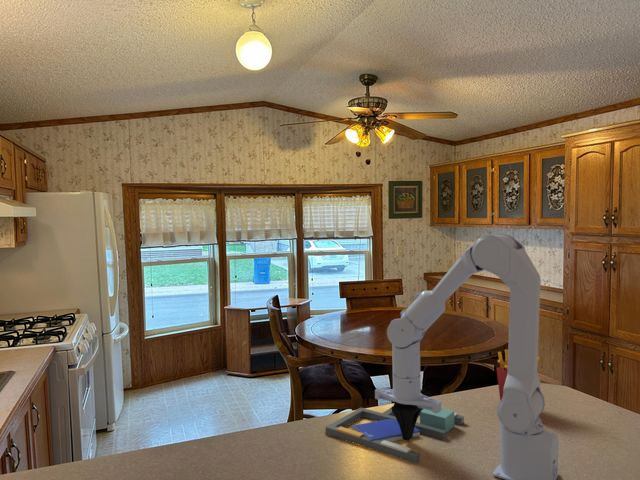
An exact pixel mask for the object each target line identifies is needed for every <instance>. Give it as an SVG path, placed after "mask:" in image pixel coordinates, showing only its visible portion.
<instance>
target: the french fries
mask: <svg viewBox="0 0 640 480" xmlns="http://www.w3.org/2000/svg"><path fill="white" fill-rule="evenodd" d="M504 353H505V355H504V357H505V361H504V359H503V354H502V351H497V356H498V359H497V363H498V364H499V366H498V367H496V376H497V384H498V393H499V402H500V401H501V400H502V397H503V389H504V385H505V381H506V378H507V372H508V348H505V349H504ZM541 361H542V358H541V357H540V356H538V366H539V365H540V364H541Z"/></svg>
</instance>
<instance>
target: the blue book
mask: <svg viewBox="0 0 640 480" xmlns="http://www.w3.org/2000/svg"><path fill="white" fill-rule="evenodd" d="M350 429H351V430H354V431H357V432H360V433H364V435H363V436H365V437H366V438H367V439H368V440H370V441H374V440H380V441H384V440H386V441H389V442H397V441H401V440H403V437H402V433H401V430H400V426H399V424H398V421H396V420H393V419H387V420H381V421H375V420H374V421H371V422H365V423H364V422H363V423H359V424H353V425H352V424H351V427H350ZM416 437H420V431H419V429H417V428H416V427H414V432H413V437H412V438H416Z"/></svg>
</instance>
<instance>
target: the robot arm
mask: <svg viewBox="0 0 640 480" xmlns="http://www.w3.org/2000/svg"><path fill="white" fill-rule="evenodd" d="M526 251H527V250H526V247H525V246H524V245H523V244H522V243H521V242H520V241H519V240H517V239H516V238H514V237H513V236H512V235H509V234H507V233H506V234H505V233H498V234H495V235H493V234H487V235H482V236H481V237H479V238H477V240H476V241H475V242H474V243H473V245H471V246H469V247H468V248H467V249H466V250H465V251H464V252H462V254H461V255H460V256H459V258H458V259H457V260H456V261H455V262H454V264H453V265H451V267H450V269H448V271H447V272H446V273H445V274H444V276H442V278H441V279H440V280H439V281H438V283H437V284H436V286H435V287H434V288H433V289H432V290H423V291H422V292H417V293H416V294H415V295H414V296H413V299H414V301H412V303H411V304H410V305H409V306H408V307H406V309H402V311H401V312H400V313H399V314H400V318H394V319H393V320H391V321H390V323H389V324H388V327H387V329H386V335H387V338H388V341H389V342H390V344H391V348H392V349H391V352H392V353H391V354H392V355H391V357H392V359H391V360H392V388H384V387H378V388H376V389H375V390H374V399H375V400H378V401H379V400H385V401H389V402H393V403H394V404H393V405H392V406H390V408H391V409H392V412H393V414H394V415H395V417H396V419H397V421H398V424H399V426H400V430H401V433H402V437H403V439H402V440H403V441H406V442H409V441H411V440H412V439H413V438H414V437H413V432H414V427H415V424H416V423H417V421H418V419H419V417H420V412H421V410H422V409H426V410H431V411H433V413H439V412H440V411H441V408H442V400H438V399H435V398H432V397H429V396H427V395H424V394H422V393H421V391H422V389H421V388H422V387H421V386H422V385H421V343H420V342H421V341H422V339H423V338H424V336H425V332H427V330H428V329H429V328H430V327H431V326H432V325H433V324H434V323H435V322H436V321H437V320H438V319H439V317H440V316H441V315H443V313H444V312H445V311H446V301H447V300H448V299H449V298H450V297H451V296H452V295H453V294H454V293H455V292H456V291H457V290H459V288H460V287H461V286H462V285H463V284H464V283H465V282H466V281H468V279H469V278H470V277H471V276H472V275H474V274H476V273H480V272H482V271H486V272H488V273H490V274H493V275H495V276H497V277H498V279H500V281H502V282H503V283H504V284H505V285H506V286H508V287H509V318H508V344H507V346H508V347H507V349H508V372H507V378H506V381H505V385H504V389H503V397H502V400H501V401H500V400H499V402H498V405H497V408H496V414H497V417H498V420H499V421H500V463H499V464H498V465H497V467H496V468H495V469H494V471H493V472H492V476H494V477H496V478H499V479H503V480H557V479H558V477H559V474H560V472H559V439H558V438H559V437H558V434H556V433H554V432H551V431H548V430H547V429H546V428H544V423H543V422H542V419H541V417H540V414H541V413H542V412H543V411H544V409H545V407H546V400H545V397H544V394H543V392H542V390H541V379H540V377H539V375H538V367H539V365H538V357H539V339H540V338H539V337H540V335H539V333H540V311H541V310H540V308H541V307H540V306H541V304H540V303H541V285H542V284H541V283H542V281H541V275H540V273H539V271H538V270H537V268H536V267H535V264H533V261H532V260H531V258H530V257H529V254H528V253H527V252H526Z"/></svg>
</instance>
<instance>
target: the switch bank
mask: <svg viewBox="0 0 640 480" xmlns="http://www.w3.org/2000/svg"><path fill="white" fill-rule="evenodd" d="M422 410H423V409H422ZM422 410H421V411H422ZM382 413H383V414H387V415H391V416H394V417H395V415H394V414H393V412H392V409H391V407H390V408H388V409H387V410H385V411H383V412H382ZM464 417H465V416H464V415H460V414H458V412H455V411H454V425H460V426H462V425H464V423H465V418H464Z"/></svg>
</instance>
